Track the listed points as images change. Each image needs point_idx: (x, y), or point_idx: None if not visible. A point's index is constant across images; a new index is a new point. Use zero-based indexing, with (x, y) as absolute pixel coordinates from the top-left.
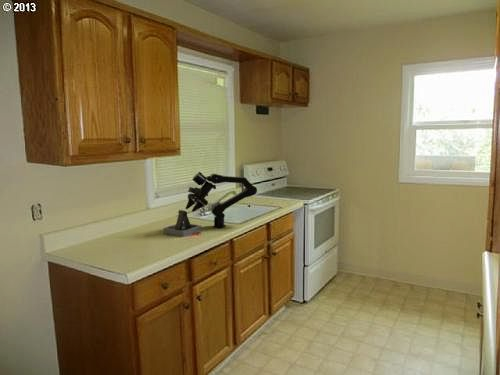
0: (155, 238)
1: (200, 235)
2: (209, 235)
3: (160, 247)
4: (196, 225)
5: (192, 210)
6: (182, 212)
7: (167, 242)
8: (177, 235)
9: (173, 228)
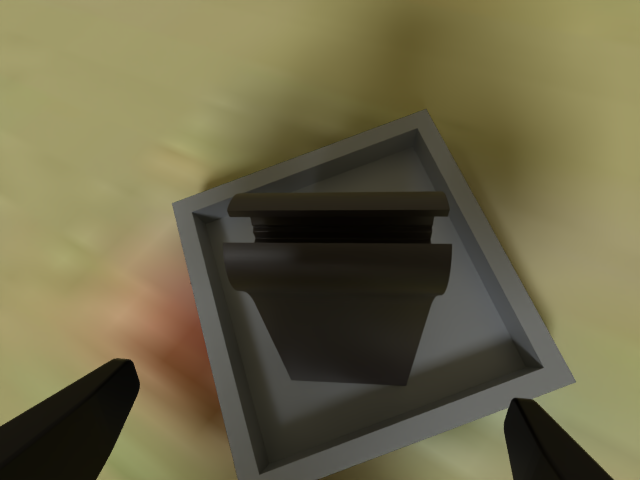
0: (306, 46)
1: None
2: None
3: (100, 19)
4: (298, 459)
5: (101, 373)
6: (257, 193)
7: (156, 78)
8: None
9: (459, 234)
